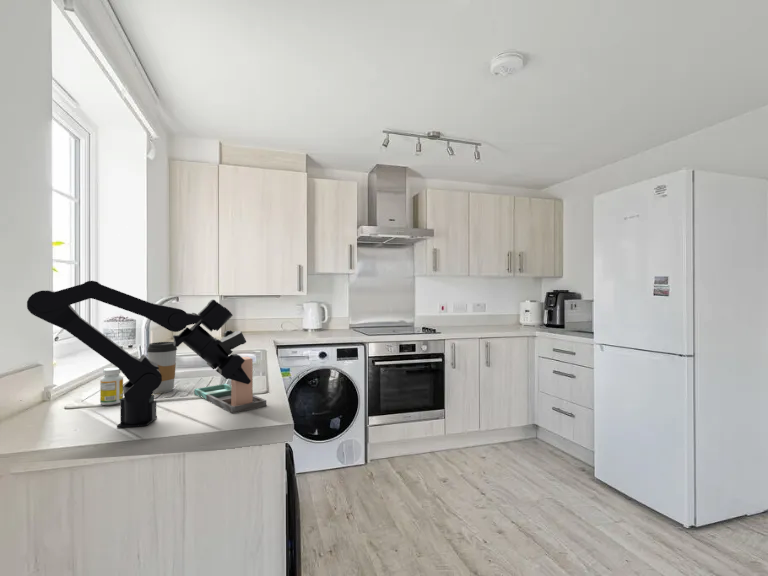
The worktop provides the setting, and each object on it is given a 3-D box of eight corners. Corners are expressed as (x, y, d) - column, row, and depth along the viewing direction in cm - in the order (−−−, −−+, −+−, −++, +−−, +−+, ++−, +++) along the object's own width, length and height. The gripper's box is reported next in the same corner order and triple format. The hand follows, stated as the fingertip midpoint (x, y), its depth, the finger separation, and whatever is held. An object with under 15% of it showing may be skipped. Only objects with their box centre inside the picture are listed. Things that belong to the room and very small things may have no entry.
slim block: (235, 409, 107) (235, 360, 107) (231, 405, 111) (231, 358, 111) (252, 406, 110) (252, 358, 110) (247, 402, 113) (247, 356, 113)
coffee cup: (140, 393, 124) (140, 344, 124) (161, 386, 132) (161, 341, 132) (163, 394, 122) (163, 345, 122) (183, 388, 130) (183, 342, 130)
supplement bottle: (107, 406, 110) (107, 371, 110) (95, 404, 112) (95, 369, 112) (127, 401, 115) (127, 367, 115) (115, 399, 117) (115, 366, 117)
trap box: (266, 405, 110) (266, 400, 110) (232, 413, 103) (232, 407, 103) (225, 388, 130) (225, 383, 130) (194, 393, 123) (194, 388, 123)
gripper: (235, 324, 100) (278, 363, 107) (218, 319, 116) (257, 354, 122) (202, 358, 96) (248, 397, 102) (188, 349, 111) (230, 383, 117)
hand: (247, 381), depth 111 cm, fingers closed on slim block, 4 cm apart
